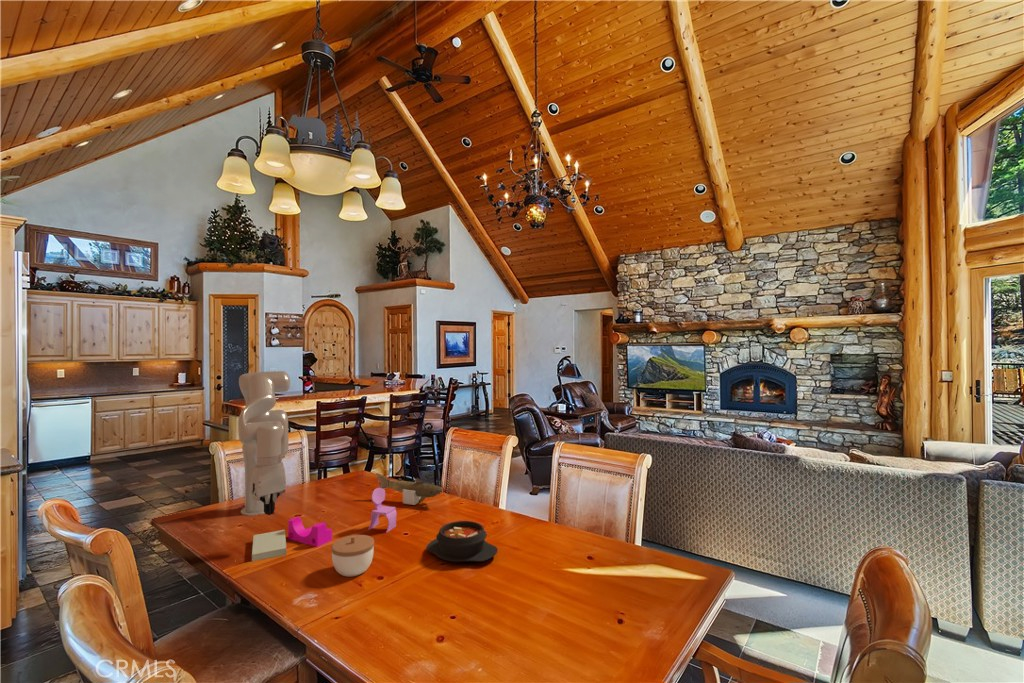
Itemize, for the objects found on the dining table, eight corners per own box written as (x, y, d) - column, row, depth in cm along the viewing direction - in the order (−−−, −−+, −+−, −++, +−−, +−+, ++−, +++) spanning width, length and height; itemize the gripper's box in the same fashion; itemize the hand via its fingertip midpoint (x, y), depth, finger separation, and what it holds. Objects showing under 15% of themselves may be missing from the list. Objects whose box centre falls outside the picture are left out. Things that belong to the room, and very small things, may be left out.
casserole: (507, 549, 157) (506, 524, 157) (481, 574, 140) (480, 547, 140) (445, 536, 167) (445, 513, 167) (414, 558, 150) (414, 533, 150)
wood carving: (382, 493, 215) (382, 470, 215) (447, 502, 202) (447, 477, 202) (370, 499, 207) (370, 475, 207) (436, 509, 194) (436, 483, 194)
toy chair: (386, 533, 170) (386, 493, 170) (366, 531, 173) (366, 491, 173) (398, 525, 178) (398, 487, 178) (379, 522, 180) (379, 485, 180)
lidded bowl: (382, 566, 145) (382, 531, 145) (356, 586, 133) (356, 548, 133) (349, 560, 149) (349, 526, 149) (322, 579, 137) (322, 542, 137)
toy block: (331, 541, 164) (331, 521, 164) (317, 548, 158) (317, 527, 158) (303, 534, 170) (302, 514, 170) (288, 540, 165) (288, 520, 165)
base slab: (253, 544, 162) (253, 535, 162) (284, 539, 167) (284, 529, 167) (251, 565, 147) (251, 554, 147) (286, 558, 152) (286, 548, 152)
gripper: (285, 454, 165) (285, 505, 165) (240, 463, 153) (241, 518, 153) (295, 457, 161) (296, 509, 161) (251, 467, 149) (251, 523, 149)
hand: (269, 513), depth 157 cm, fingers closed
